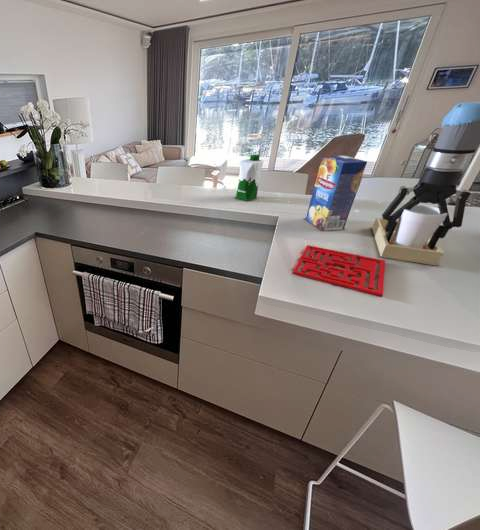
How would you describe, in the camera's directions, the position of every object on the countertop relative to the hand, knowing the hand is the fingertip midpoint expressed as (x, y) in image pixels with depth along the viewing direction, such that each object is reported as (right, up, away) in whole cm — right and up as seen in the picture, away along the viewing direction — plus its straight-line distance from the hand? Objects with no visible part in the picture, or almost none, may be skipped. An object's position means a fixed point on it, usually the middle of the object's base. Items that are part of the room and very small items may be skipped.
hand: (407, 244), depth 87 cm
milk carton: (-25, +27, +56) cm, 67 cm away
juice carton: (-9, +9, +23) cm, 27 cm away
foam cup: (0, -2, +1) cm, 2 cm away
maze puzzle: (-24, -7, -4) cm, 25 cm away
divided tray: (+3, 0, +6) cm, 6 cm away
